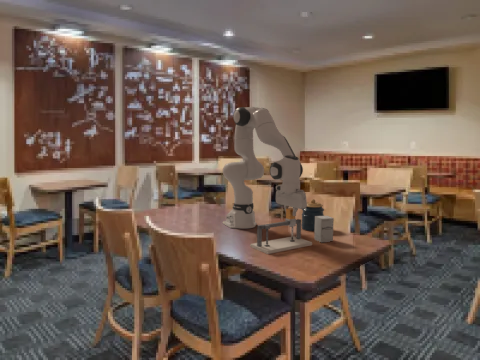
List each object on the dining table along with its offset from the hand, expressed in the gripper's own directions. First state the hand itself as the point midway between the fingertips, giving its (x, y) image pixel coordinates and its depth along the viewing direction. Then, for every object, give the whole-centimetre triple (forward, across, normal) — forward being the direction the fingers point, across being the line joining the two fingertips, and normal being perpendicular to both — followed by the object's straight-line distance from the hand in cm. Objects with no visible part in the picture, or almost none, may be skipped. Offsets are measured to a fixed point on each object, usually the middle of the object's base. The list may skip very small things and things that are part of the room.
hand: (290, 215), depth 201 cm
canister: (+15, +17, -32) cm, 39 cm away
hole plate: (+15, -2, +7) cm, 16 cm away
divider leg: (+12, 0, 0) cm, 12 cm away
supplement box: (+15, -6, -18) cm, 24 cm away
